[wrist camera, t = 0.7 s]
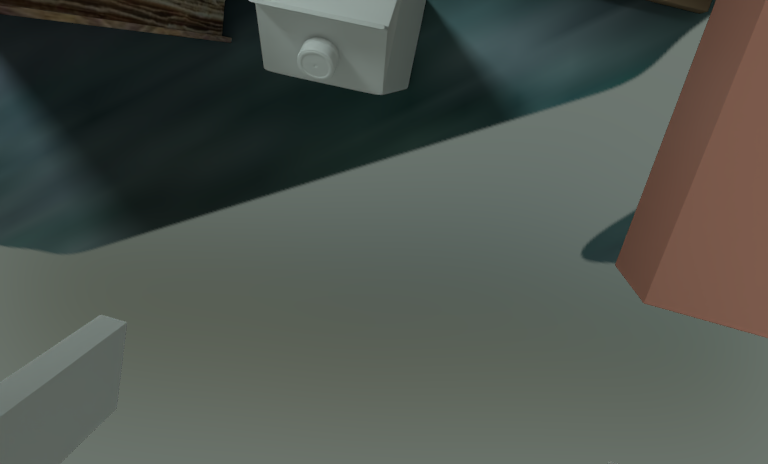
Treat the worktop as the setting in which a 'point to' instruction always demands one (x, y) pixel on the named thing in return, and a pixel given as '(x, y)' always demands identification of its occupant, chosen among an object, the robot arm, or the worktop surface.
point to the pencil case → (711, 184)
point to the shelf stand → (687, 4)
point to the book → (130, 15)
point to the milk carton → (342, 41)
